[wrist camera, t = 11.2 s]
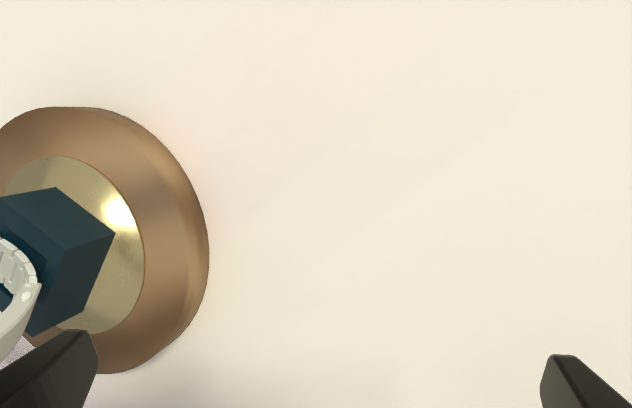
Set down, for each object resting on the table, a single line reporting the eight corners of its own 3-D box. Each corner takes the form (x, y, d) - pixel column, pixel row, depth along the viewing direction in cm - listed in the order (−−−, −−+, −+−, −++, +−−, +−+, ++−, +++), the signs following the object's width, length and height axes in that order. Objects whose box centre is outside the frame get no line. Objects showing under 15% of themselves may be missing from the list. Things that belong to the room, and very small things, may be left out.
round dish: (256, 305, 24) (236, 323, 22) (78, 386, 30) (49, 406, 28) (121, 53, 24) (88, 47, 22) (-33, 182, 30) (-70, 187, 28)
